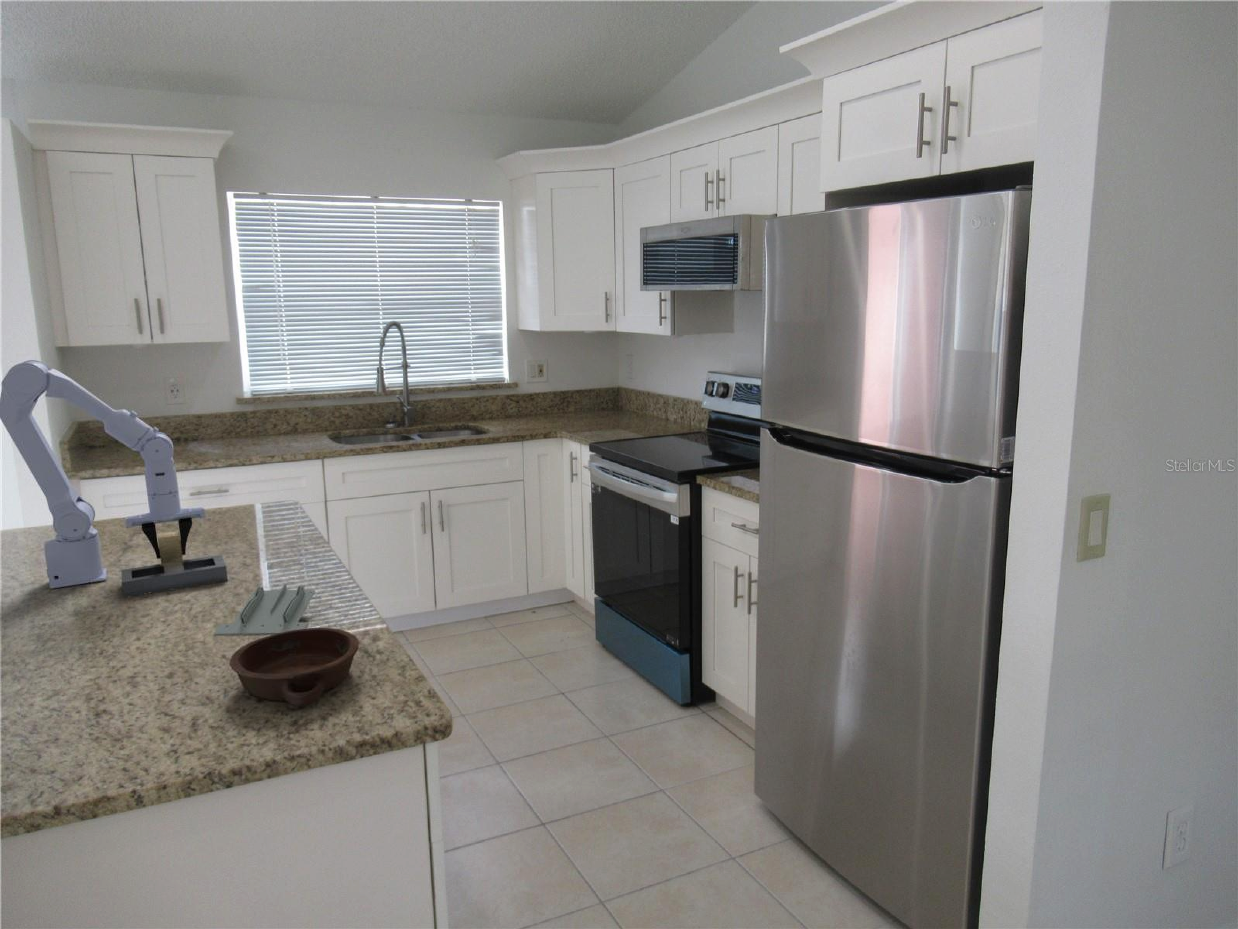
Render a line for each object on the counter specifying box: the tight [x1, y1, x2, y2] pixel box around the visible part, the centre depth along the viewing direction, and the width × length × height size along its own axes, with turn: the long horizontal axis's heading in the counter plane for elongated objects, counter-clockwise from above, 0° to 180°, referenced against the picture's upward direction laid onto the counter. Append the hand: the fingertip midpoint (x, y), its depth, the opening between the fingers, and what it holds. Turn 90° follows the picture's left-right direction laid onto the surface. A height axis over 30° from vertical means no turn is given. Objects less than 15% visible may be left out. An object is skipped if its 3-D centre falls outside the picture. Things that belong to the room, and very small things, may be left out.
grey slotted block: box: [121, 554, 228, 598], centre depth 170 cm, size 18×9×3 cm, turn 120°
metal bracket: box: [213, 583, 316, 636], centre depth 149 cm, size 14×6×15 cm
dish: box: [229, 627, 360, 707], centre depth 125 cm, size 18×22×5 cm
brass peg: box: [156, 530, 184, 564], centre depth 180 cm, size 4×4×7 cm
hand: (171, 555), depth 181 cm, fingers closed on brass peg, 4 cm apart
